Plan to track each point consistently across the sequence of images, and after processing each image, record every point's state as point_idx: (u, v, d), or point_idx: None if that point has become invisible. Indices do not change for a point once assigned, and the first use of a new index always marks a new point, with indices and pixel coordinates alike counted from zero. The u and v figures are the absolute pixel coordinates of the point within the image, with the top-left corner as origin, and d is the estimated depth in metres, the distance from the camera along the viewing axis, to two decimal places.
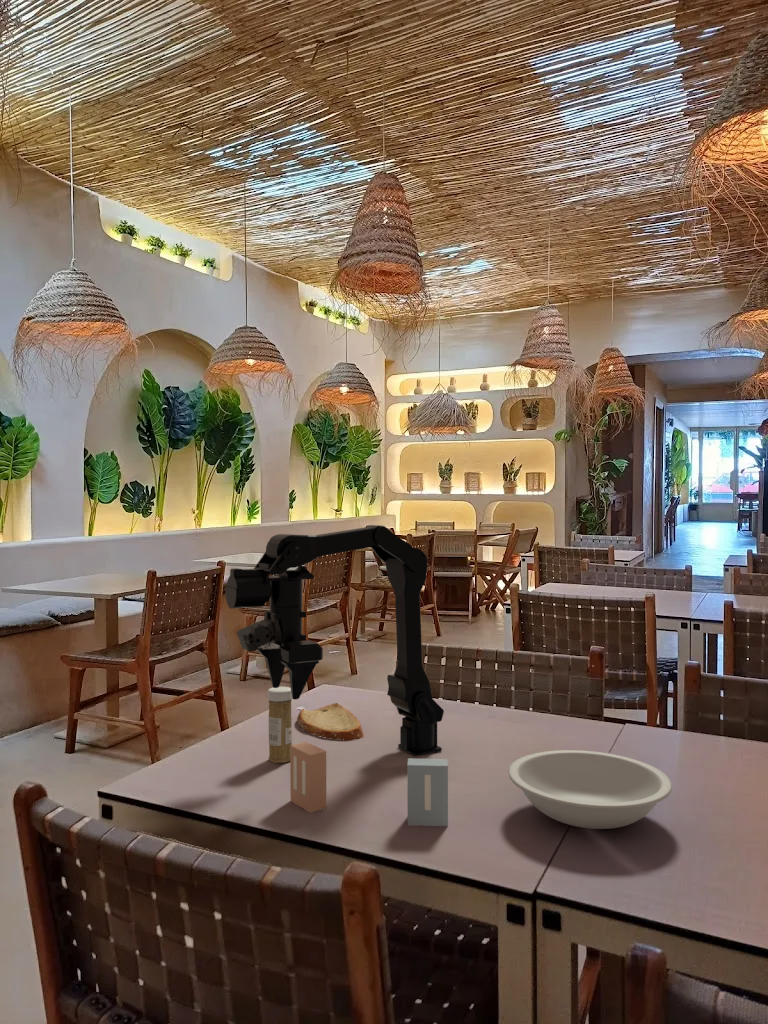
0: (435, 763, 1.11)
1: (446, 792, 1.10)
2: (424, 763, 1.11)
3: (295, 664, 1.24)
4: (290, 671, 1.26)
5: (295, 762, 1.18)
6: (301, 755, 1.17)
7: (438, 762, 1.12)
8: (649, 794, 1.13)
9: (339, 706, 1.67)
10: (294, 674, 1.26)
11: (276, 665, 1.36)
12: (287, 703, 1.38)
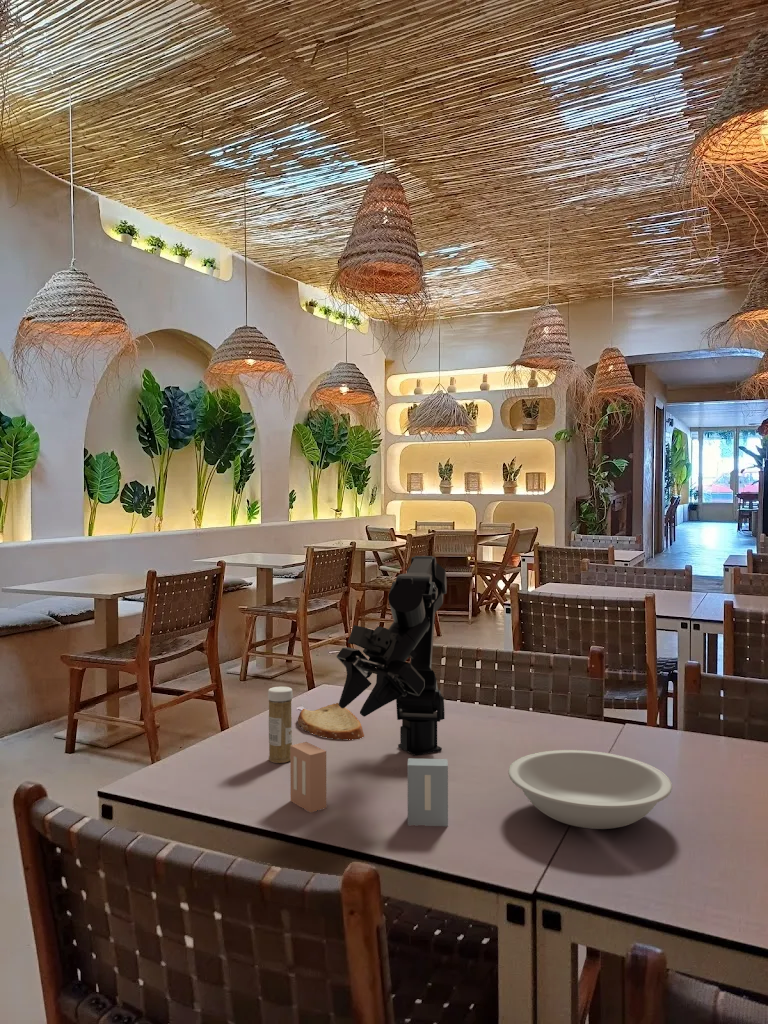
0: (435, 763, 1.11)
1: (446, 792, 1.10)
2: (424, 763, 1.11)
3: (392, 679, 1.21)
4: (378, 685, 1.22)
5: (295, 762, 1.18)
6: (301, 755, 1.17)
7: (438, 762, 1.12)
8: (649, 794, 1.13)
9: None
10: (380, 690, 1.22)
11: (354, 688, 1.28)
12: (287, 703, 1.38)
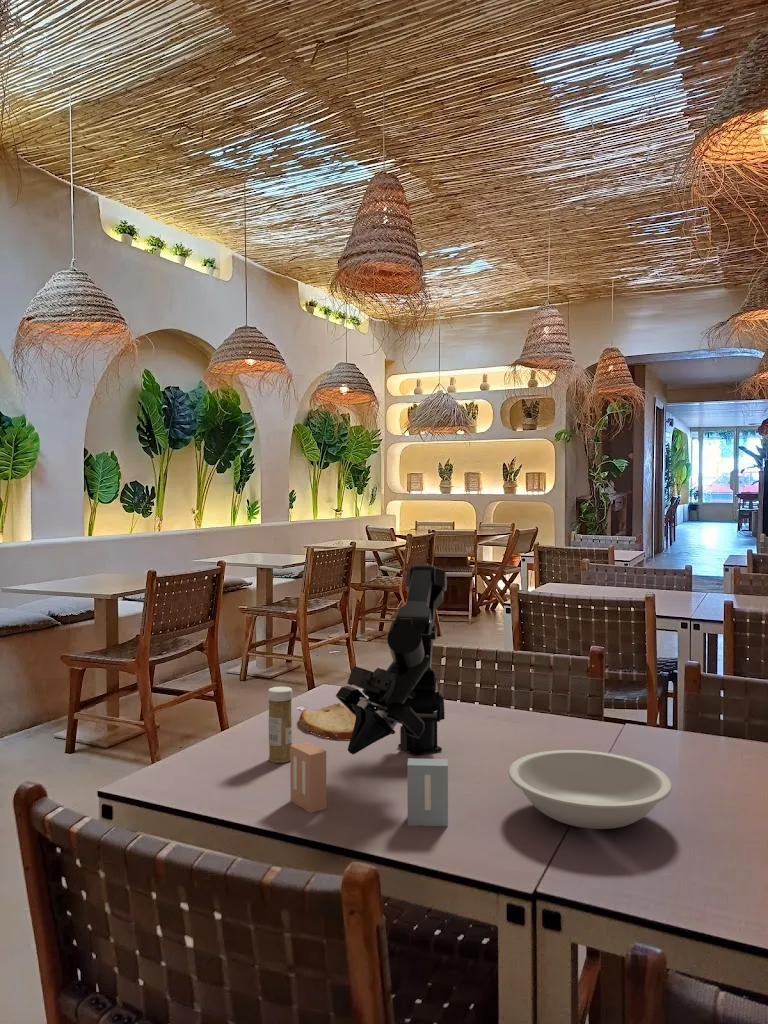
0: (435, 763, 1.11)
1: (446, 792, 1.10)
2: (424, 763, 1.12)
3: (381, 718, 1.23)
4: (367, 723, 1.24)
5: (295, 762, 1.18)
6: (301, 755, 1.17)
7: (438, 762, 1.12)
8: (649, 794, 1.13)
9: (341, 706, 1.67)
10: (369, 728, 1.24)
11: None
12: (287, 703, 1.38)
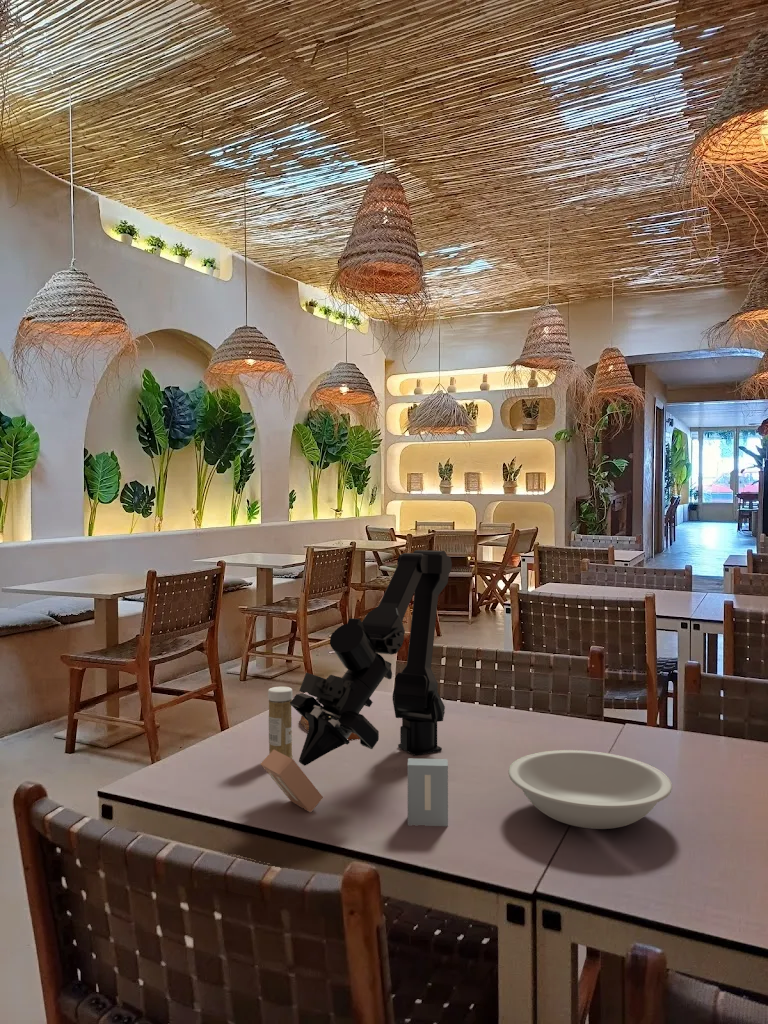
0: (435, 763, 1.11)
1: (446, 792, 1.10)
2: (424, 763, 1.12)
3: (333, 727, 1.17)
4: (320, 733, 1.18)
5: (273, 777, 1.16)
6: (273, 773, 1.14)
7: (438, 762, 1.12)
8: (649, 794, 1.13)
9: None
10: (322, 738, 1.18)
11: None
12: (287, 703, 1.38)
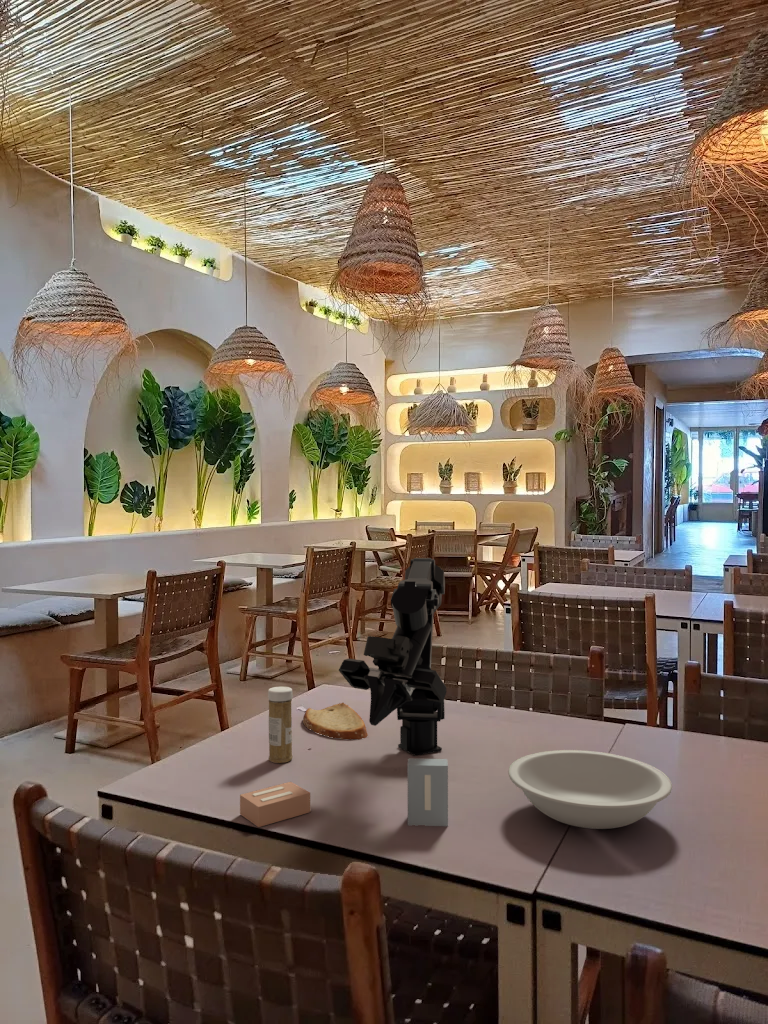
0: (435, 763, 1.11)
1: (446, 792, 1.10)
2: (424, 763, 1.12)
3: (402, 686, 1.22)
4: (388, 692, 1.22)
5: None
6: None
7: (438, 762, 1.12)
8: (649, 794, 1.13)
9: (345, 706, 1.67)
10: (390, 697, 1.22)
11: None
12: (287, 703, 1.38)
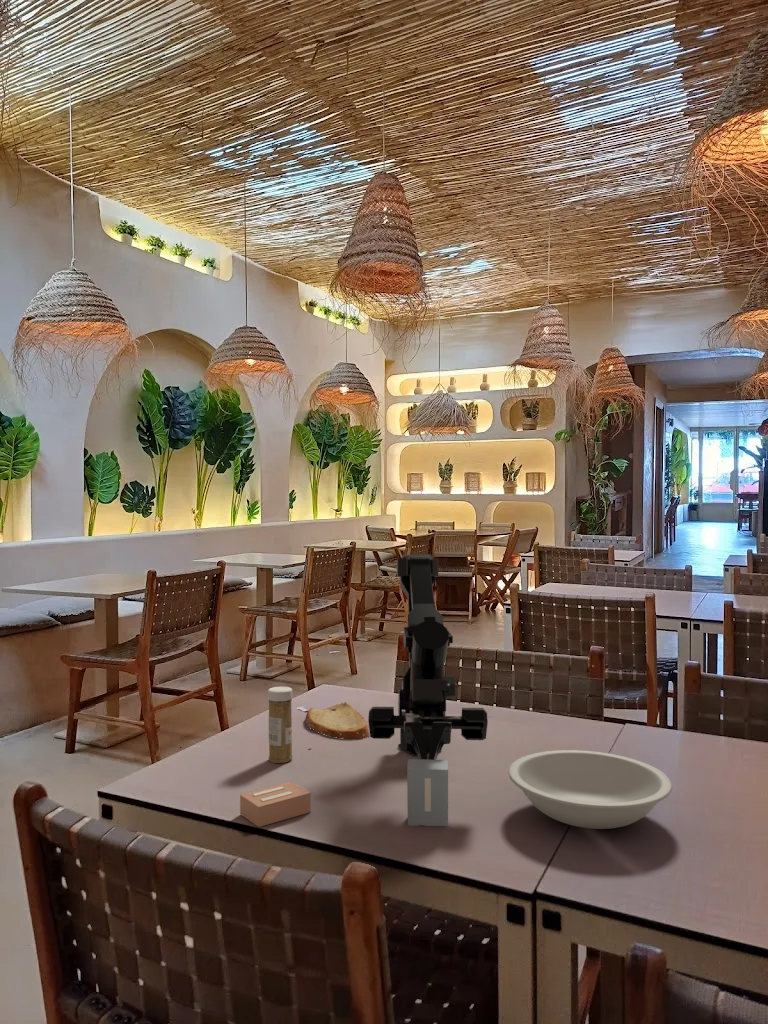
0: (435, 765, 1.10)
1: (446, 794, 1.10)
2: (424, 765, 1.10)
3: (451, 728, 1.16)
4: (437, 737, 1.15)
5: None
6: None
7: (438, 764, 1.10)
8: (649, 794, 1.13)
9: (348, 706, 1.68)
10: (439, 742, 1.15)
11: None
12: (287, 703, 1.38)
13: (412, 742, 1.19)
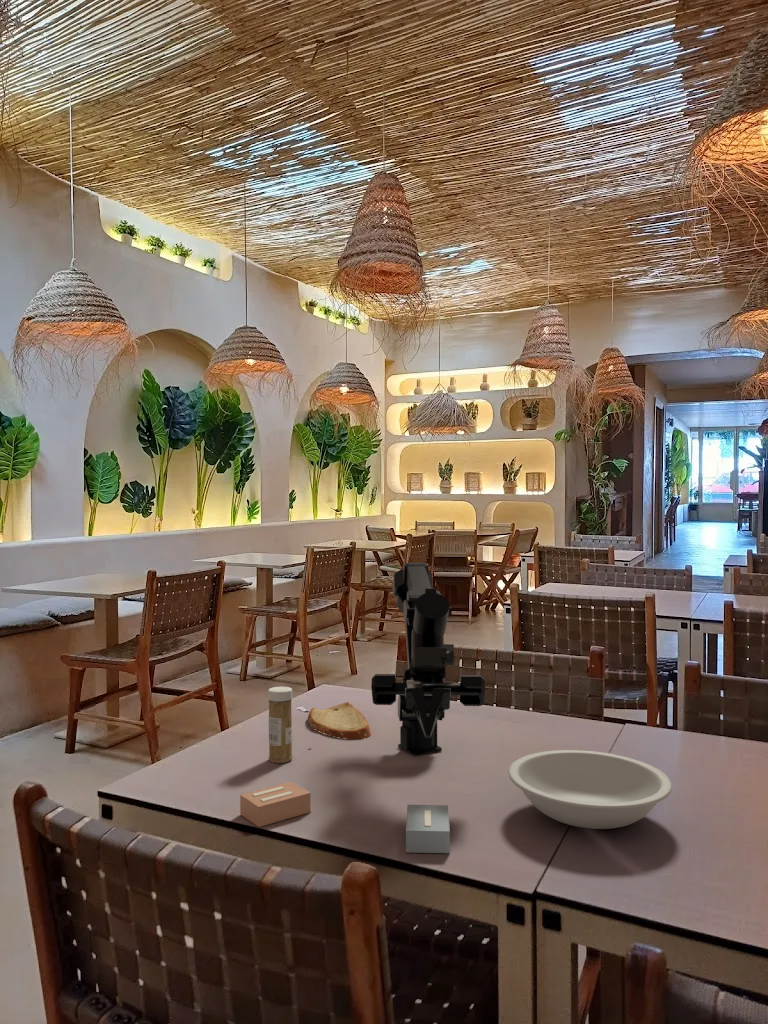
0: (436, 845, 1.01)
1: None
2: (424, 845, 1.02)
3: (450, 694, 1.22)
4: (436, 702, 1.21)
5: None
6: None
7: (439, 841, 1.01)
8: (649, 794, 1.13)
9: (350, 705, 1.68)
10: (438, 707, 1.21)
11: None
12: (287, 703, 1.38)
13: (413, 708, 1.25)
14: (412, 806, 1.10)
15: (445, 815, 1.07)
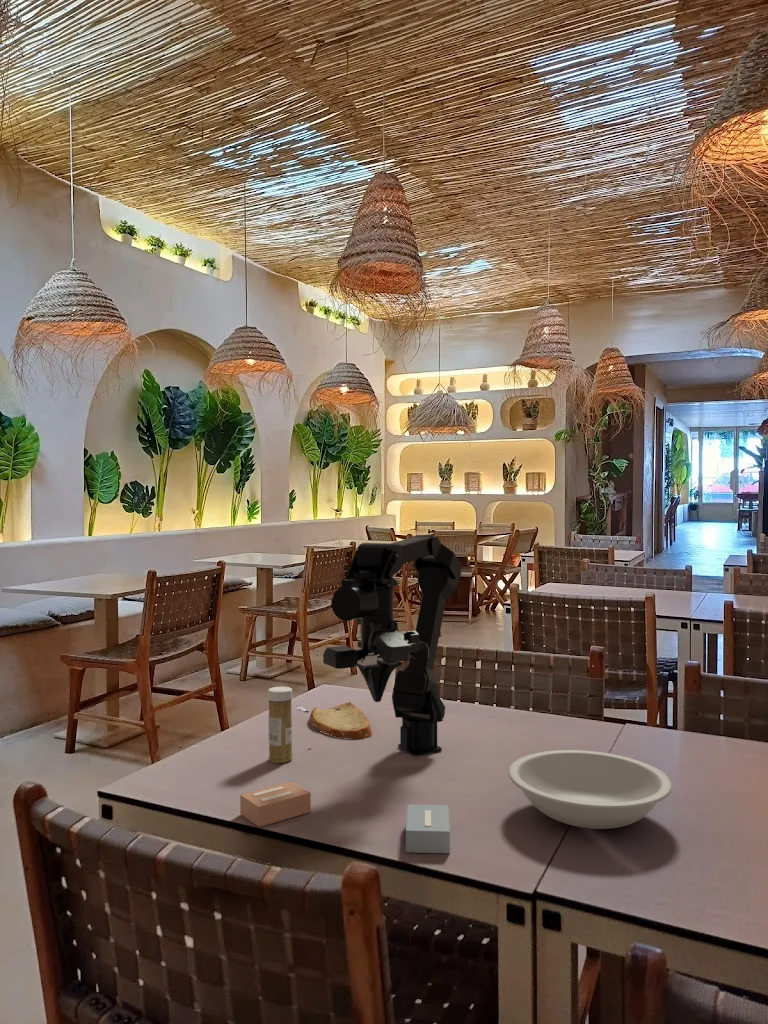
0: (436, 845, 1.01)
1: None
2: (424, 845, 1.02)
3: None
4: (388, 673, 1.31)
5: None
6: None
7: (439, 841, 1.01)
8: (649, 794, 1.13)
9: (352, 705, 1.68)
10: None
11: None
12: (287, 703, 1.38)
13: None
14: (412, 806, 1.10)
15: (445, 815, 1.07)
